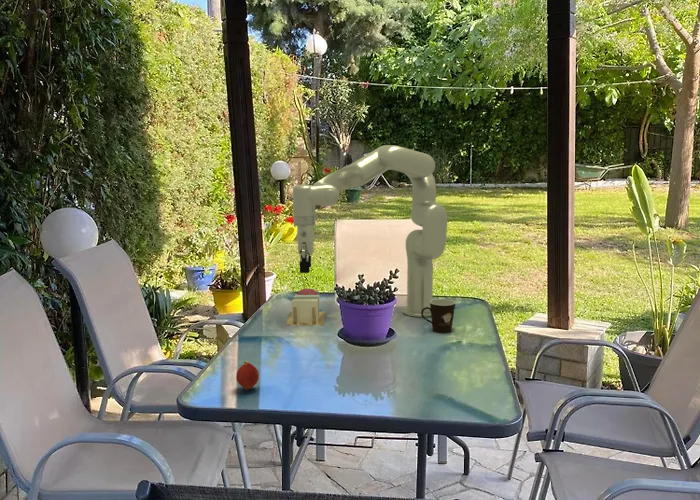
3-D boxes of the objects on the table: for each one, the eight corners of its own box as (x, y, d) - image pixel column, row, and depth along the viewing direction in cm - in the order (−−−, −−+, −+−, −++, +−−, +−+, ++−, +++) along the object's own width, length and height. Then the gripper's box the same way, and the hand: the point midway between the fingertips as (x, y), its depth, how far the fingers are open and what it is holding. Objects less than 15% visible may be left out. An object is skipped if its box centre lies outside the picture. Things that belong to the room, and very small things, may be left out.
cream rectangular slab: (318, 320, 227) (317, 298, 225) (317, 323, 224) (317, 300, 223) (292, 321, 227) (292, 299, 225) (292, 323, 224) (291, 301, 223)
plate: (319, 313, 236) (319, 294, 235) (319, 315, 234) (319, 296, 233) (295, 313, 237) (294, 295, 235) (294, 315, 234) (294, 296, 233)
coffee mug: (453, 327, 224) (454, 299, 222) (455, 334, 216) (456, 305, 214) (420, 326, 225) (420, 298, 224) (420, 333, 217) (421, 305, 215)
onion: (249, 383, 174) (248, 355, 172) (263, 388, 170) (262, 360, 169) (232, 390, 169) (231, 361, 168) (247, 395, 166) (246, 366, 164)
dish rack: (325, 315, 239) (325, 296, 238) (323, 329, 222) (323, 308, 221) (290, 315, 239) (290, 296, 238) (285, 329, 222) (285, 308, 221)
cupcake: (293, 308, 249) (293, 278, 247) (301, 302, 257) (301, 273, 255) (314, 309, 247) (313, 279, 245) (321, 304, 255) (321, 274, 253)
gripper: (314, 224, 211) (315, 275, 214) (316, 217, 228) (317, 264, 231) (291, 224, 211) (292, 275, 214) (295, 217, 228) (296, 264, 231)
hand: (305, 269), depth 222 cm, fingers open, 9 cm apart
